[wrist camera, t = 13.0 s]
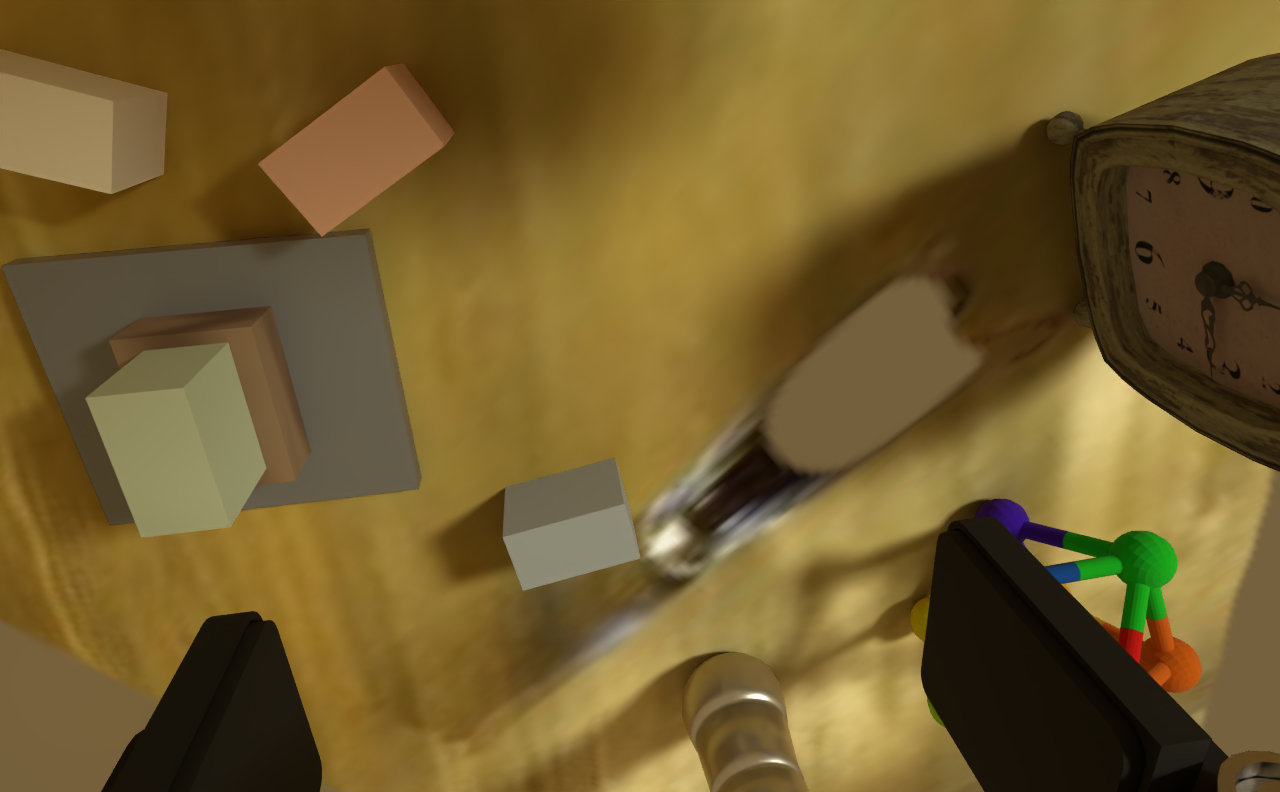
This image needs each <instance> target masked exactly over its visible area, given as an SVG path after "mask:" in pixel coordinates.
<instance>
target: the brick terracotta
mask: <svg viewBox="0 0 1280 792" xmlns="http://www.w3.org/2000/svg"><path fill="white" fill-rule="evenodd" d="M454 134H455V132H454V131H453V129H452V128H451V126H450V125H449V124H448V122H447V121H446V120H445V118H444V117H443V116H442V114H441V113H440V112H439V110H438V109H437V108H436V106H435V105H434V104H433V102H432V101H431V100H430V98H429V97H428V95H427V94H426V93H425V91H424V90H423V89H422V87H421V86H420V85H419V83H418V82H417V81H416V79H415V78H414V77H413V75H412V74H411V73H410V71H409V70H408V69H407V67H406V66H405V64H404V63H400V64H395V65H390V66H385V67H383V68H382V69H381V70H379V71H378V72H377V73H376V74H374V75H373V76H372V77H370V78H369V79H368V80H366V81H365V82H364V83H363V84H361V85H360V86H359V87H357V88H356V89H355V90H353V91H352V92H351V93H349V94H348V95H347V96H346V97H344V98H343V99H342V100H340V101H339V102H338V103H336V104H335V105H334V106H333V107H331V108H330V109H329V110H327V111H326V112H325V113H323V114H322V115H321V116H320V117H318V118H317V119H316V120H314V121H313V122H312V123H310V124H309V125H308V126H306V127H305V128H304V129H303V130H301V131H300V132H299V133H297V134H296V135H295V136H293V137H292V138H291V139H290V140H288V141H287V142H286V143H284V144H283V145H282V146H280V147H279V148H278V149H276V150H275V151H274V152H273V153H271V154H270V155H269V156H267V157H266V158H265V159H263V160H262V161H261V162H260V163H258V165H259V166H260V167H261V168H262V169H263V171H264V172H265V173H266V174H267V175H268V176H269V177H270V179H271V180H272V181H273V182H274V183H275V184H276V185H277V187H278V188H279V189H280V190H281V191H282V192H283V193H284V194H285V196H286V197H287V198H288V199H289V200H290V201H291V202H292V204H293V205H294V206H295V207H296V208H297V209H298V210H299V212H300V213H301V214H302V215H303V216H304V217H305V218H306V219H307V221H308V222H309V223H310V224H311V225H312V226H313V227H314V229H315V230H316V231H317V232H318V233H319V234H320V235H321V237H322V236H324V235H325V234H326V233H328V232H329V231H330V230H332V229H333V228H335V227H336V226H337V225H339V224H340V223H341V222H343V221H344V220H345V219H347V218H348V217H349V216H351V215H352V214H353V213H355V212H356V211H358V210H359V209H360V208H362V207H363V206H364V205H366V204H367V203H368V202H370V201H371V200H372V199H374V198H375V197H376V196H378V195H379V194H380V193H382V192H383V191H385V190H386V189H387V188H389V187H390V186H391V185H393V184H394V183H395V182H397V181H398V180H399V179H401V178H402V177H403V176H405V175H406V174H408V173H409V172H410V171H412V170H413V169H414V168H416V167H417V166H418V165H420V164H421V163H422V162H424V161H425V160H426V159H428V158H429V157H431V156H432V155H433V154H435V153H436V152H437V151H439V150H440V149H441V148H443V147H444V146H445V145H446V144H447V142H448V141H449V140H450V139H451V137H452V136H453V135H454Z"/></svg>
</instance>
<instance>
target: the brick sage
mask: <svg viewBox="0 0 1280 792" xmlns="http://www.w3.org/2000/svg"><path fill="white" fill-rule="evenodd" d="M86 401H87V403H88V406H89V408H90V411H91V413H92V416H93V418H94V421H95V423H96V426H97V428H98V431H99V433H100V436H101V438H102V441H103V443H104V446H105V448H106V451H107V453H108V456H109V458H110V461H111V463H112V466H113V468H114V471H115V473H116V476H117V478H118V481H119V483H120V486H121V488H122V491H123V493H124V496H125V498H126V501H127V503H128V506H129V508H130V511H131V513H132V516H133V518H134V521H135V523H136V526H137V528H138V531H139V533H140V536H141V538H144V537H152V536H161V535H169V534H177V533H186V532H194V531H203V530H211V529H220V528H228V527H231V526H232V524H233V522H234V521H235V519H236V517H237V516H238V514H239V513H240V511H241V509H242V508H243V506H244V504H245V503H246V501H247V499H248V498H249V496H250V494H251V493H252V491H253V490H254V488H255V486H256V485H257V483H258V481H259V480H260V478H261V476H262V475H263V473H264V472H265V470H266V465H265V462H264V459H263V456H262V452H261V449H260V446H259V442H258V439H257V436H256V432H255V429H254V426H253V423H252V419H251V416H250V413H249V409H248V406H247V403H246V400H245V396H244V393H243V390H242V386H241V383H240V380H239V377H238V373H237V370H236V367H235V363H234V360H233V357H232V354H231V350H230V347H229V344H228V343H218V344H208V345H197V346H187V347H177V348H167V349H156V350H146V351H143V352H141V353H140V354H139V355H138V356H136V357H135V358H134V359H133V360H131V361H130V362H129V363H128V364H127V365H125V366H124V367H123V368H122V369H120V370H119V371H118V372H117V373H115V374H114V375H113V376H112V377H110V378H109V379H108V380H107V381H106V382H104V383H103V384H102V385H101V386H99V387H98V388H97V389H96V390H94V391H93V392H92V393H91V394H90V395H88V396H87V397H86Z"/></svg>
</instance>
